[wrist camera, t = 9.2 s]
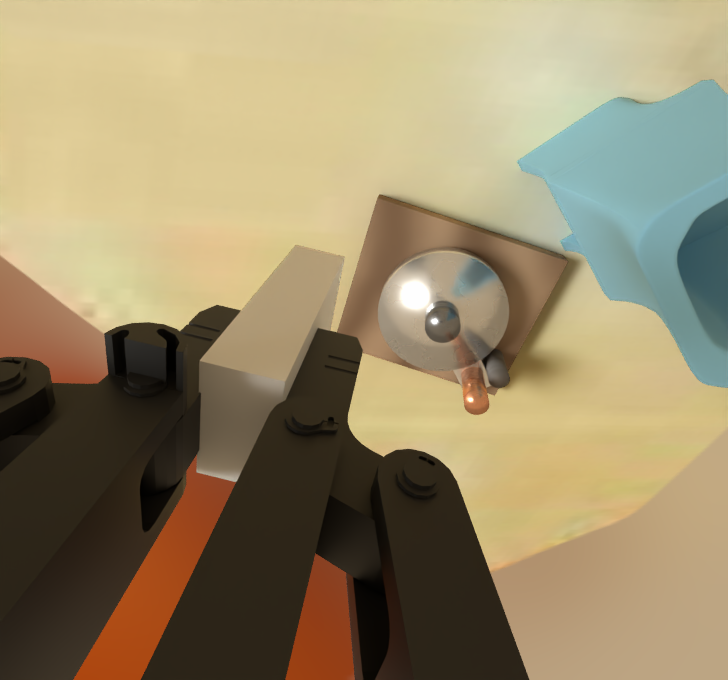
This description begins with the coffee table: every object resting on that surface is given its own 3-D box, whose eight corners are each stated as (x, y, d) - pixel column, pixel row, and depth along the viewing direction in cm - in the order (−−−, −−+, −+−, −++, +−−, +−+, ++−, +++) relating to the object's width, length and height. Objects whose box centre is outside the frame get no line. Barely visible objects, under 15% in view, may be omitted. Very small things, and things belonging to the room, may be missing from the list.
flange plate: (357, 281, 36) (346, 308, 31) (476, 224, 32) (484, 245, 28) (424, 399, 40) (424, 439, 35) (535, 359, 37) (551, 398, 32)
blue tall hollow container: (672, 190, 32) (977, 298, 14) (564, 250, 34) (705, 403, 17) (628, 86, 29) (931, 60, 12) (516, 161, 32) (622, 230, 14)
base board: (336, 335, 40) (325, 363, 36) (379, 194, 34) (372, 207, 30) (492, 386, 41) (500, 420, 36) (562, 255, 35) (582, 277, 30)
